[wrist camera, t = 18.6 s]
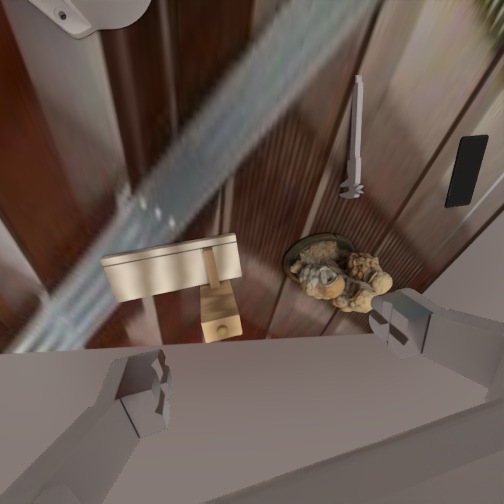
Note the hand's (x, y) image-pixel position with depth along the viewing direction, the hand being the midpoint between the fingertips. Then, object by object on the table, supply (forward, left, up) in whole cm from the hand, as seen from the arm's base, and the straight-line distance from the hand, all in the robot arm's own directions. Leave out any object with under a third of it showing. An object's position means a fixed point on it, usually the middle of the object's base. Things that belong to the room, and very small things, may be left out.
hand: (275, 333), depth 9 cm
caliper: (+19, +20, -38) cm, 47 cm away
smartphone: (+48, +29, -38) cm, 68 cm away
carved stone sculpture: (+27, -2, -37) cm, 46 cm away
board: (0, -15, -37) cm, 40 cm away
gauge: (+6, -14, -37) cm, 40 cm away
